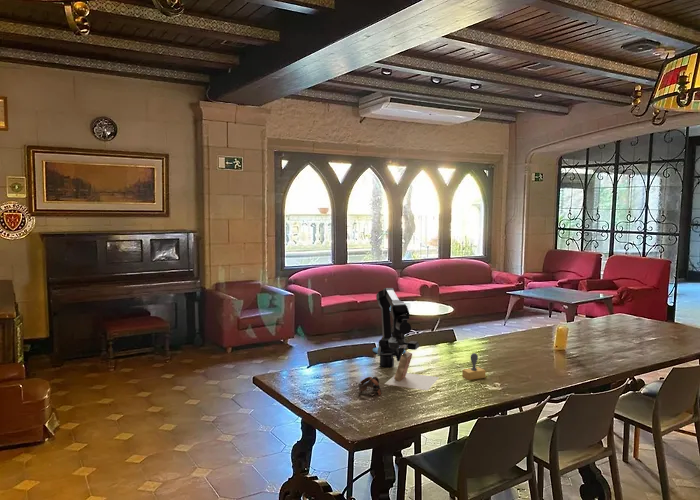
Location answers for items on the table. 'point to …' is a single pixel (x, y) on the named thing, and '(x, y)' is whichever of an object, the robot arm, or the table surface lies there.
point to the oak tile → (403, 366)
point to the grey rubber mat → (414, 381)
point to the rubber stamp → (473, 370)
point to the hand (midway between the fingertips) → (398, 361)
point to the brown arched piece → (370, 384)
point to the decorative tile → (381, 352)
